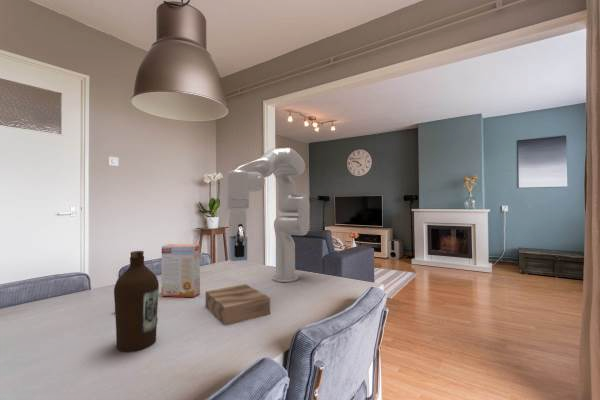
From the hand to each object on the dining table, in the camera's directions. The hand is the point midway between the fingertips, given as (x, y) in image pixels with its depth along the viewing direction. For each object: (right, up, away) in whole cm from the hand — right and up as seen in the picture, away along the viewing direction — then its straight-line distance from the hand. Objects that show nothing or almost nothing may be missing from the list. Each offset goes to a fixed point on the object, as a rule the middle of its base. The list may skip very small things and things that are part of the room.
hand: (238, 254), depth 103 cm
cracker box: (-27, -20, +16) cm, 37 cm away
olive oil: (-22, -20, -25) cm, 39 cm away
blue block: (0, -2, 0) cm, 2 cm away
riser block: (-1, -20, 0) cm, 20 cm away
